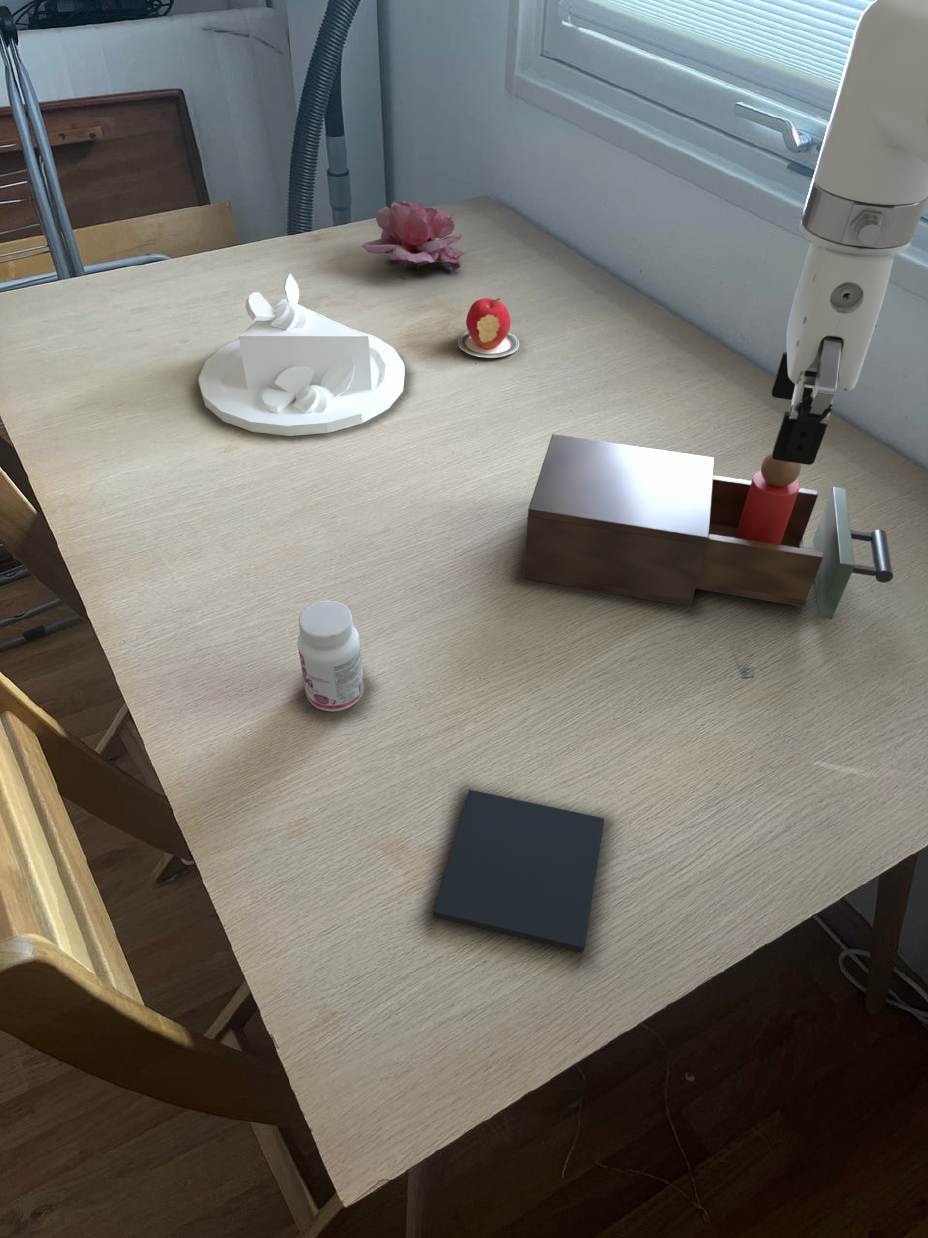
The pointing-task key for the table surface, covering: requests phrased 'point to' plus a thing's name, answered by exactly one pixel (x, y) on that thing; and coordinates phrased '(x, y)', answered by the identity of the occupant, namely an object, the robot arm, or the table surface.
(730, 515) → the drawer
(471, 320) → the apple
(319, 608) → the pill bottle
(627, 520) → the cabinet
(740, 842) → the table surface
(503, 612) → the table surface
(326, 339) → the dish
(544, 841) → the coaster
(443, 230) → the flower
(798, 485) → the red cylinder
